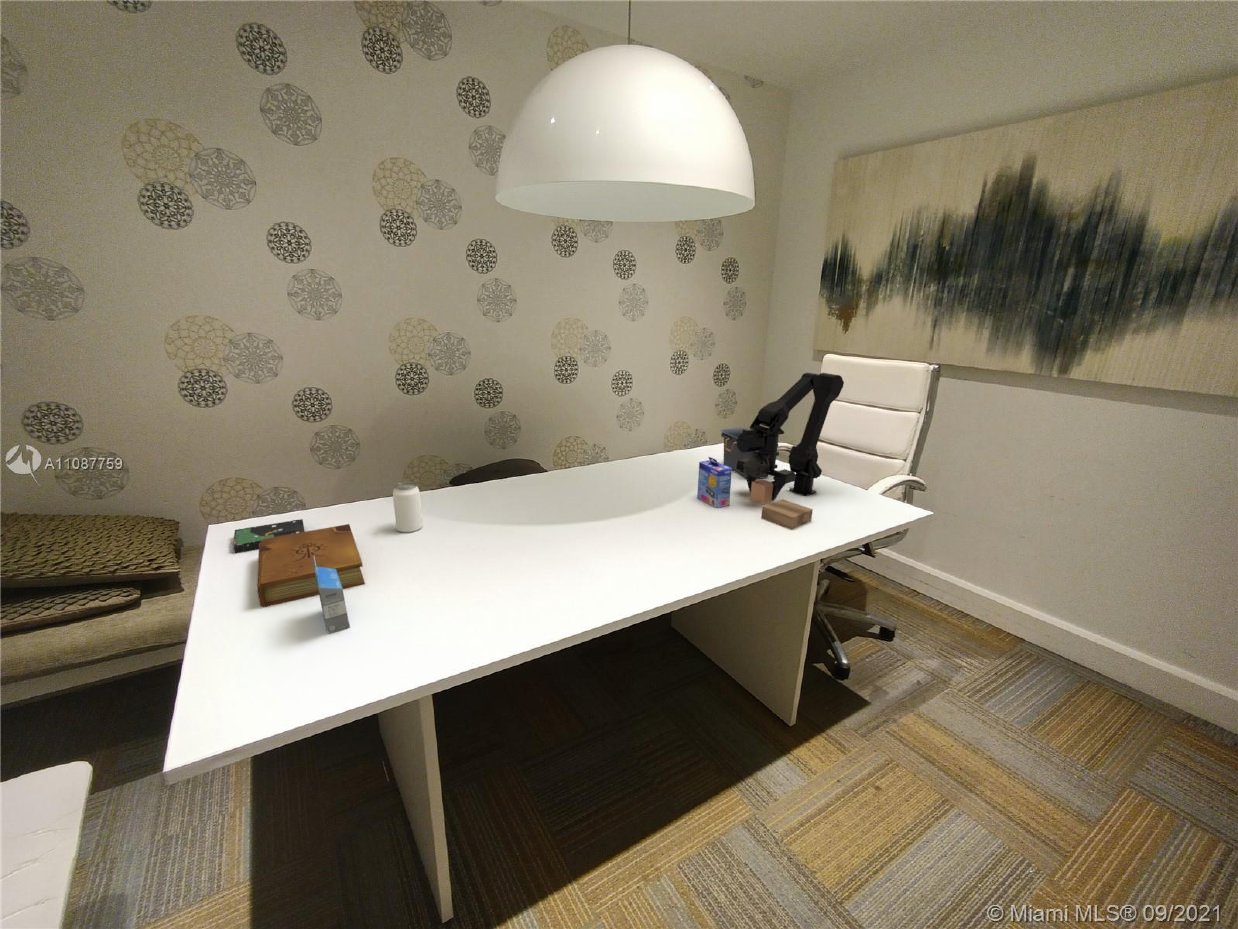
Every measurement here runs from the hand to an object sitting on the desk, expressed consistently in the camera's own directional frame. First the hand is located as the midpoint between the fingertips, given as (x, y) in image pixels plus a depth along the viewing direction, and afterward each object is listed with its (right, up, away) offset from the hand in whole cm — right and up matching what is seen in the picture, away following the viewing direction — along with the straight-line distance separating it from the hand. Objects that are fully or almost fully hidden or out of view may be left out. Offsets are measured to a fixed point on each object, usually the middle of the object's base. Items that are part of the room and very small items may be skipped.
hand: (761, 496), depth 169 cm
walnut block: (+3, -6, -14) cm, 16 cm away
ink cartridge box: (-16, -2, -2) cm, 16 cm away
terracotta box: (0, -1, 0) cm, 1 cm away
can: (-101, -7, -27) cm, 104 cm away
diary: (-113, -14, -50) cm, 125 cm away
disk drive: (-132, -9, -35) cm, 137 cm away
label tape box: (-99, -20, -67) cm, 121 cm away
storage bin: (0, +7, +27) cm, 28 cm away
